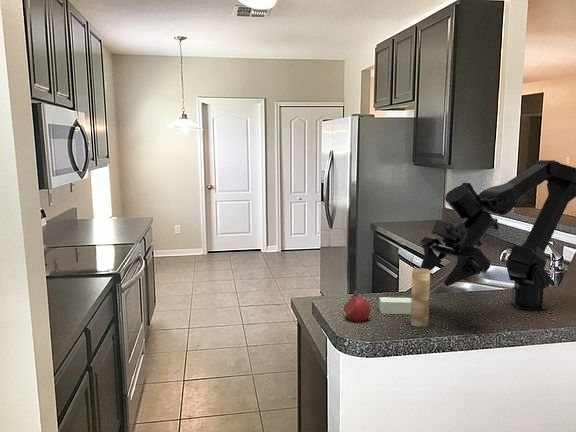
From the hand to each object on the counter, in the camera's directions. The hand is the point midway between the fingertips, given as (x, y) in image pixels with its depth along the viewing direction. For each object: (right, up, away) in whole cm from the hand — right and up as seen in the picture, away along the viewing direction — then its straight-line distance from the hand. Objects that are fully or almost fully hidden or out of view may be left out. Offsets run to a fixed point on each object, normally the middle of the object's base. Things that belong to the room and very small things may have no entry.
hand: (432, 280), depth 115 cm
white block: (-6, -9, +9) cm, 15 cm away
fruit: (-16, -10, +4) cm, 19 cm away
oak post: (-3, -10, 0) cm, 11 cm away
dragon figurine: (-15, -10, +11) cm, 21 cm away
